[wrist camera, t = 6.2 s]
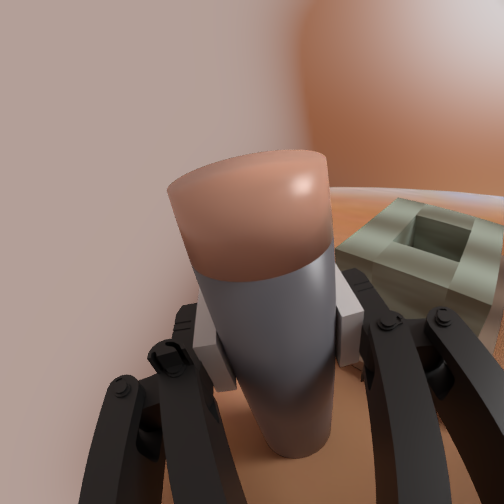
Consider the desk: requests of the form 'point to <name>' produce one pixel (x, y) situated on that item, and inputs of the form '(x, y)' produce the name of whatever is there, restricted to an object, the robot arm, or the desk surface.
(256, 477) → the desk surface
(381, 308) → the robot arm
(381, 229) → the socket
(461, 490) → the desk surface
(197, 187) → the peg
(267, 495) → the desk surface
